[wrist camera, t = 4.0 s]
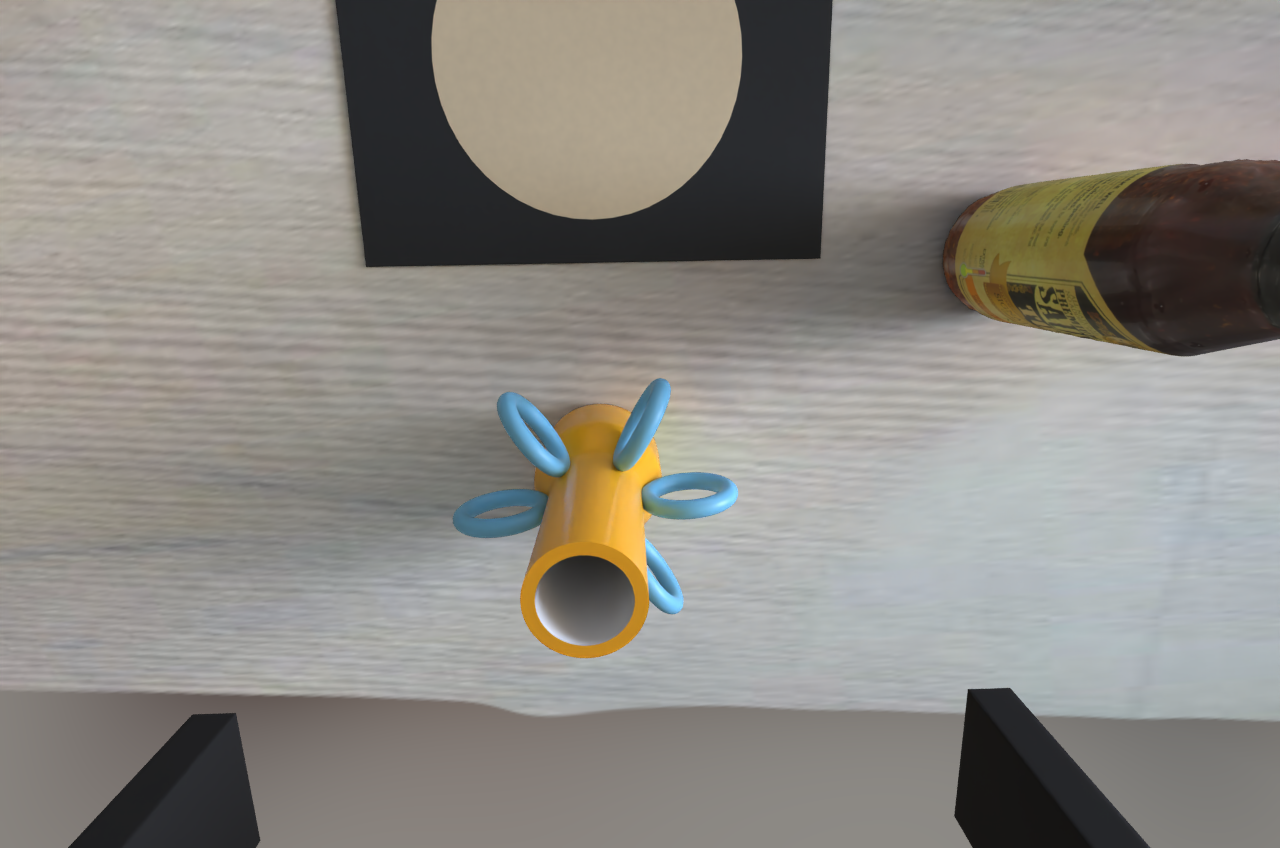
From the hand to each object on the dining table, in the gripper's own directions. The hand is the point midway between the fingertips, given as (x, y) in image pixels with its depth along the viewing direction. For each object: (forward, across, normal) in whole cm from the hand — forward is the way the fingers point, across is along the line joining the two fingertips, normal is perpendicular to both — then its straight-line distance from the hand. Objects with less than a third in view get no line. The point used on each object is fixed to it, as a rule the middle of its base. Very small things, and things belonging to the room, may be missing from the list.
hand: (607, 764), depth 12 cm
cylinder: (+24, -1, -2) cm, 24 cm away
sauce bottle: (+24, +19, +8) cm, 32 cm away
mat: (+24, -1, +18) cm, 29 cm away
